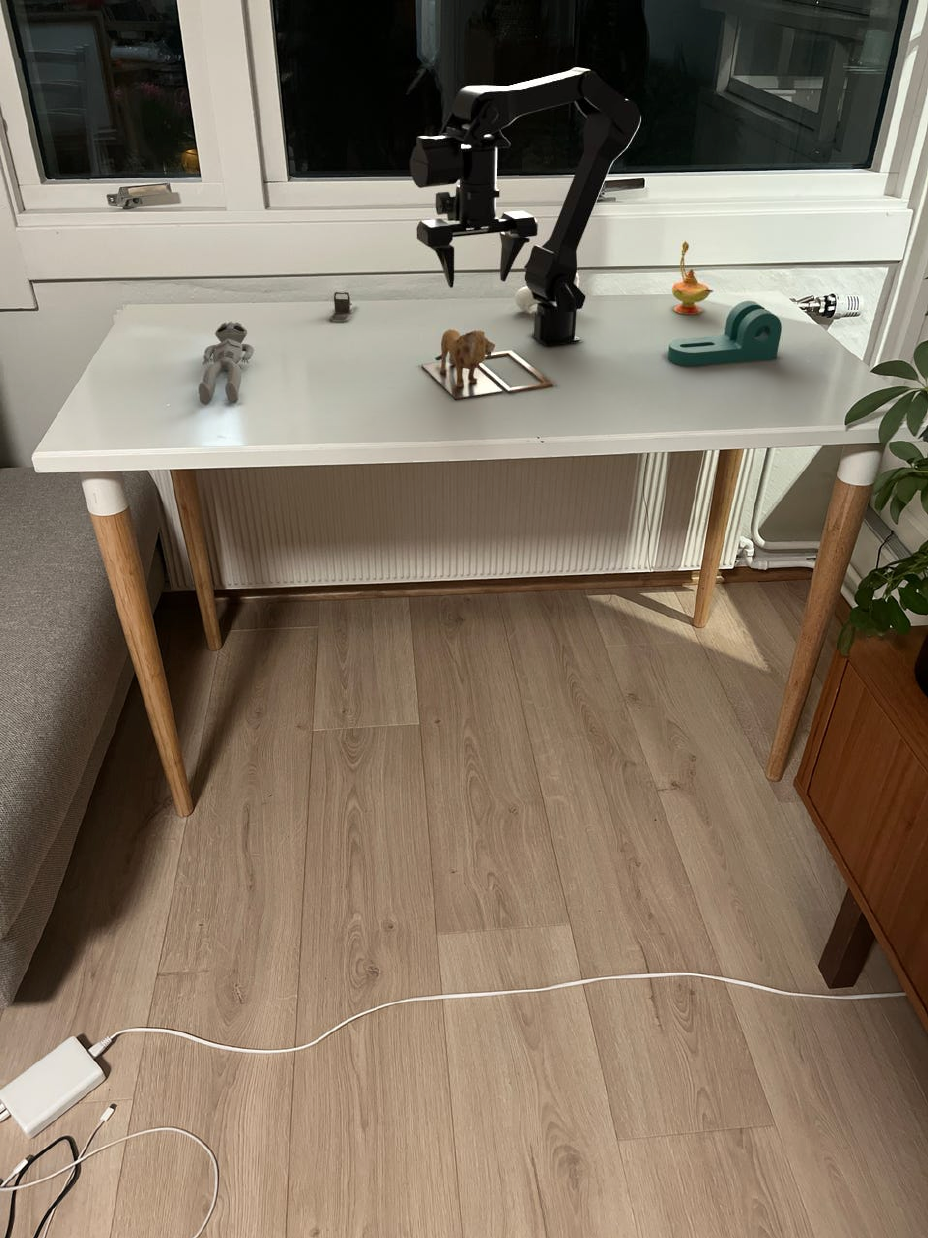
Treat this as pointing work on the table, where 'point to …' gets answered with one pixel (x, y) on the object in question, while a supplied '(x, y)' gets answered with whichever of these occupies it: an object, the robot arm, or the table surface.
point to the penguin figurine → (531, 297)
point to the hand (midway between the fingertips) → (477, 283)
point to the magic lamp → (689, 289)
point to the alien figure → (225, 361)
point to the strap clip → (342, 308)
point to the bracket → (733, 339)
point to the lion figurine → (464, 352)
